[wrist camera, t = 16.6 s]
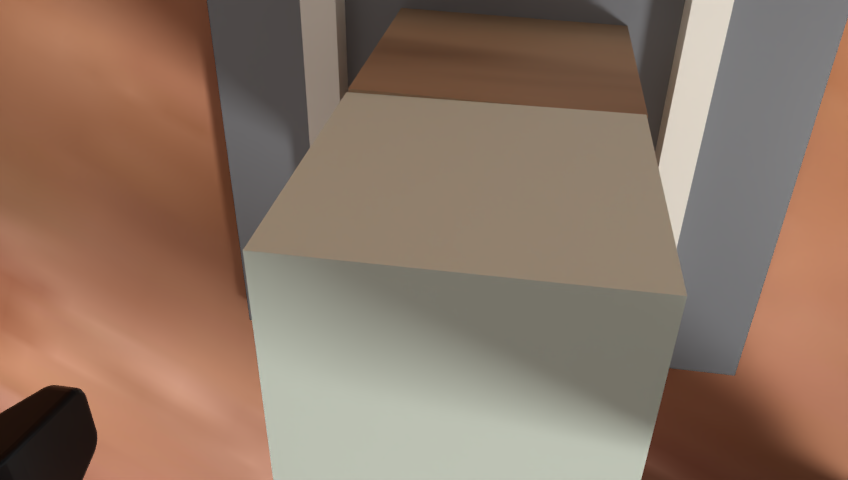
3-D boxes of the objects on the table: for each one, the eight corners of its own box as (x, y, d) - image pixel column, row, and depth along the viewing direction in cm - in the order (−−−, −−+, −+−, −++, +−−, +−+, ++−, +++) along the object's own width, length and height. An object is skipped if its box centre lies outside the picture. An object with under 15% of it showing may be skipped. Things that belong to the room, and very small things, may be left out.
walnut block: (592, 222, 19) (599, 350, 15) (397, 201, 20) (352, 319, 16) (627, 25, 17) (647, 115, 12) (401, 7, 17) (348, 88, 13)
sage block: (602, 350, 15) (616, 576, 11) (355, 322, 16) (278, 527, 12) (646, 114, 12) (687, 296, 8) (346, 91, 13) (242, 250, 9)
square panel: (731, 361, 22) (740, 395, 20) (256, 307, 23) (240, 336, 22) (907, -213, 14) (938, -210, 13) (188, -230, 16) (157, -228, 15)
